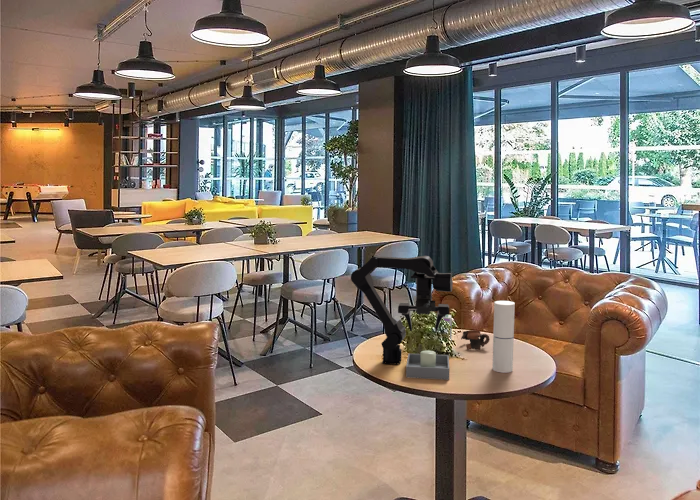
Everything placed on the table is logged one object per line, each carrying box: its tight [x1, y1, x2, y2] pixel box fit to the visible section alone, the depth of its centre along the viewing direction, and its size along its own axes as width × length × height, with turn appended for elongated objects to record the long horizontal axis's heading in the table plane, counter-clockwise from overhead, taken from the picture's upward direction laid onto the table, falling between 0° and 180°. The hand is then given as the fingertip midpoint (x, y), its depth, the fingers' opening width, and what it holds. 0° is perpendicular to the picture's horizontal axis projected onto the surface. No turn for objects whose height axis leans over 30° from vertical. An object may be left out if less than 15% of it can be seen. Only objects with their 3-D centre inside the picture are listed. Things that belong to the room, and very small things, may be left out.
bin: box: [405, 353, 450, 381], centre depth 205 cm, size 15×15×4 cm
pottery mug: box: [460, 329, 490, 351], centre depth 235 cm, size 12×10×8 cm
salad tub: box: [419, 349, 437, 368], centre depth 205 cm, size 6×6×6 cm
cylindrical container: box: [491, 300, 516, 374], centre depth 206 cm, size 7×7×25 cm
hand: (423, 331), depth 211 cm, fingers open, 9 cm apart
